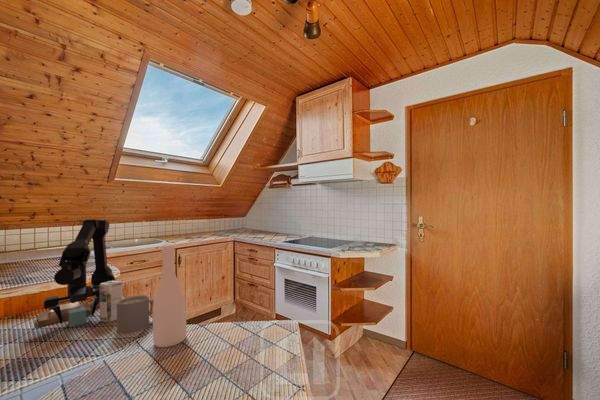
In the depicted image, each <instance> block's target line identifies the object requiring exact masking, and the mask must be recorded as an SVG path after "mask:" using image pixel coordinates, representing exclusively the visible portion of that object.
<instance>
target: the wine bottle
mask: <svg viewBox="0 0 600 400" xmlns="http://www.w3.org/2000/svg"><path fill="white" fill-rule="evenodd" d="M161 247H162V248H161V254H162V272H161V277H160V280H159V284H158V286H157V290H156V293H155V295H154V298H153V299H154V302H153V307H152V309H153V313H152V338H153V340H152V341H153V345H154V346H156V347H158V348H169V347H173V346H176V345H179V344H181V343H182V342H184V340H185V339H186V337H187V333H188V331H187V300H186V297H185V295H184V293H183V289H182V287H181V285H180V283H179V280H178V278H177V275H176V271H175V258H174V257H175V256H174V253H175V247H174V245H172V244H171V245H170V244H169V245H163V246H161Z"/></svg>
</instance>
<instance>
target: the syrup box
mask: <svg viewBox="0 0 600 400" xmlns="http://www.w3.org/2000/svg"><path fill="white" fill-rule="evenodd" d="M123 291H124V290H123V281H121V280H119V281H118V280H116V281H107V282H104V283H101V284H100V302H99V322H103V323H104V322H105V323H112V322H114V321H117V301H119V300H121V299H124V298H123V297H124V296H123V294H124V293H123Z"/></svg>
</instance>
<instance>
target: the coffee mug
mask: <svg viewBox="0 0 600 400" xmlns="http://www.w3.org/2000/svg"><path fill="white" fill-rule="evenodd" d="M154 299H155V298H150V297H149V295H145V294H139V295H132V296H128V297H124V298H123V299H121V300H119V301H117V320H116V333H118V334H122V335H125V334H133V333H137V332H140V331H143V330H145V329H147V328H148V327H149V326H150V316H151V315H153V309H152V307H153V302H154ZM150 304H151V307H150Z"/></svg>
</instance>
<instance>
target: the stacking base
mask: <svg viewBox="0 0 600 400" xmlns="http://www.w3.org/2000/svg"><path fill="white" fill-rule="evenodd" d="M59 305H60V310H61V315H62V322H64V321H65V320H66V321H69V312H68V311H69V310H73V309H78V308H83V307H85V308H86V317H88V316H92V307H91V305H90V304H89V302H86V303H81V304H80V301H79V302H76V303H70V302H68V303H64V304H59ZM56 323H60V320H59V318H58V316H57V314H56V313H55V311H54V310H47V311H43V312H39V313H38V323H37V324H38V328H39V327H44V326H49V325H52V324H56Z"/></svg>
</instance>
